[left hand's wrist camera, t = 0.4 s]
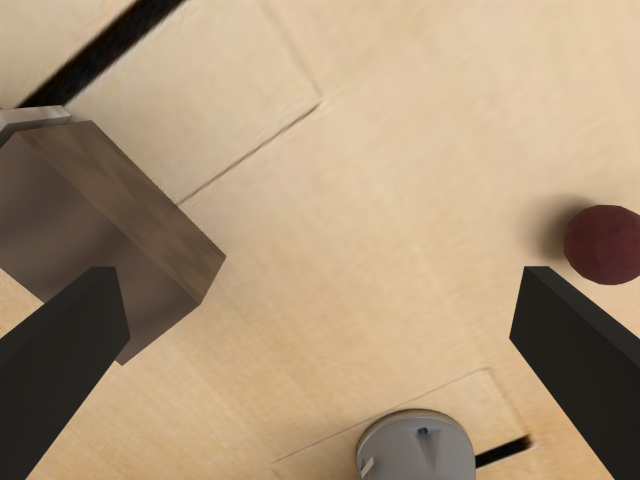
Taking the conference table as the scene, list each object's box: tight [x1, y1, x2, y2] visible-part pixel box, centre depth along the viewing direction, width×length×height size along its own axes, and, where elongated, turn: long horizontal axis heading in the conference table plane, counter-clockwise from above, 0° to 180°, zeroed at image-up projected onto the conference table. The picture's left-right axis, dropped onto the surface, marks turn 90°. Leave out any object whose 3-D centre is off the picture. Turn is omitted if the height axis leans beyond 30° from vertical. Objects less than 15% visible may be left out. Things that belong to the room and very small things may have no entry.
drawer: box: [0, 105, 71, 149], centre depth 35 cm, size 22×9×8 cm, turn 39°
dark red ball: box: [564, 205, 640, 285], centre depth 38 cm, size 7×8×7 cm
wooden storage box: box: [0, 121, 226, 366], centre depth 36 cm, size 18×10×10 cm, turn 39°
